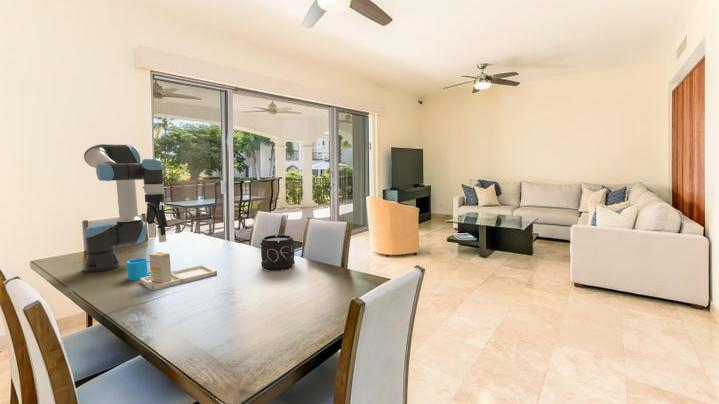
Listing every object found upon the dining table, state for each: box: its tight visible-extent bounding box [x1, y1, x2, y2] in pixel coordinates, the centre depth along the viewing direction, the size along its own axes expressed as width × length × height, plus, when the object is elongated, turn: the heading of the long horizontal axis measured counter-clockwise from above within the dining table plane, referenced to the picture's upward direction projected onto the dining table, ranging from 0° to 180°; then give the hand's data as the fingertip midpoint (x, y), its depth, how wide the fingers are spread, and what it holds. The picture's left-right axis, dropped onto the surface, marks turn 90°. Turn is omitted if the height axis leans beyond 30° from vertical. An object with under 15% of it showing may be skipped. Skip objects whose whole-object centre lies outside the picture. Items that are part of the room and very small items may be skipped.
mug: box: [126, 258, 151, 281], centre depth 171 cm, size 12×8×8 cm
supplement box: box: [148, 251, 172, 283], centre depth 161 cm, size 8×5×13 cm, turn 65°
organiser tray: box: [139, 264, 218, 292], centre depth 168 cm, size 16×29×2 cm, turn 137°
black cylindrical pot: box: [260, 234, 296, 272], centre depth 185 cm, size 18×18×16 cm
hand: (157, 239), depth 160 cm, fingers open, 13 cm apart
